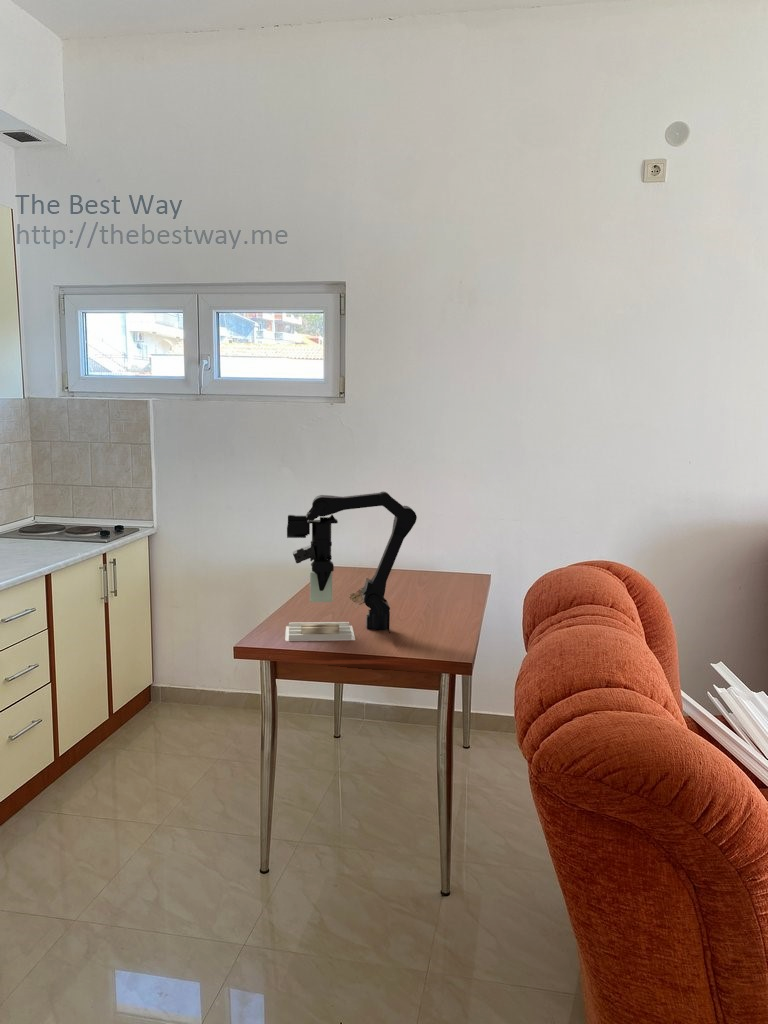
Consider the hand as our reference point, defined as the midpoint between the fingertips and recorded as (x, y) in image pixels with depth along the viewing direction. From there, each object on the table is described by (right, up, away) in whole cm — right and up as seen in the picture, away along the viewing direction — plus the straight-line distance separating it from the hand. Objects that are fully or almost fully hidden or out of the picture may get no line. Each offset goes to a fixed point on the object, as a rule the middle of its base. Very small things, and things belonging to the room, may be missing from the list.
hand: (321, 589), depth 235 cm
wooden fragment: (+12, -8, +48) cm, 50 cm away
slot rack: (0, -14, -3) cm, 14 cm away
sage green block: (0, -4, 0) cm, 4 cm away
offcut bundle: (0, -13, -8) cm, 15 cm away
